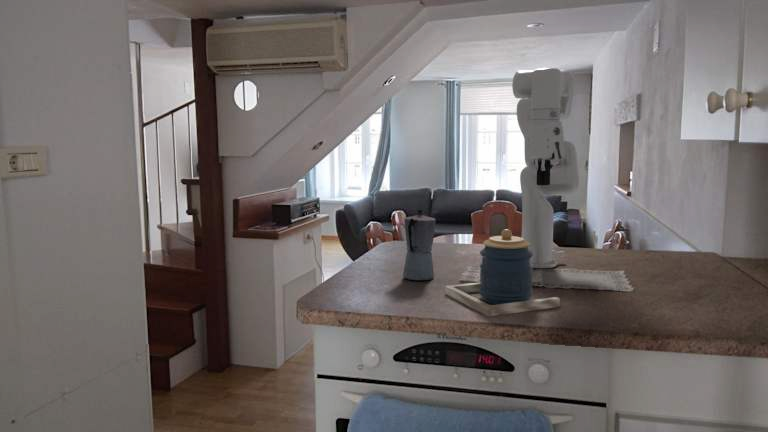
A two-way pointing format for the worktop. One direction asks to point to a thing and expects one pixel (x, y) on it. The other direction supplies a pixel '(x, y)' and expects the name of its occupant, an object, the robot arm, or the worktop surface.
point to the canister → (505, 269)
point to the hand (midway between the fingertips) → (543, 184)
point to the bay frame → (500, 309)
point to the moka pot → (419, 247)
